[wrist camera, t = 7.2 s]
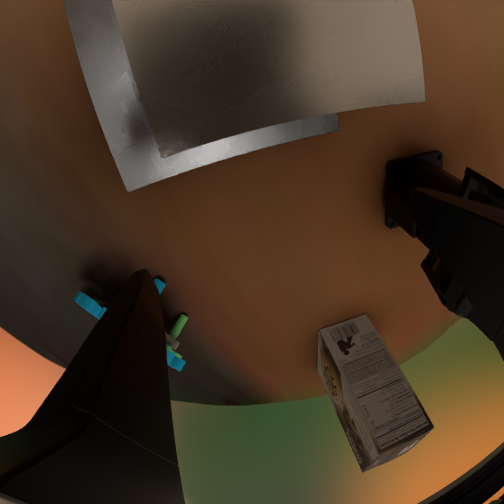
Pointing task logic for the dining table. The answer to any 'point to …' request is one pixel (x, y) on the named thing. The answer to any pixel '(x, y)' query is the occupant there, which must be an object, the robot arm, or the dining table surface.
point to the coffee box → (369, 393)
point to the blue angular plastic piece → (172, 357)
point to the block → (265, 62)
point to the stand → (132, 111)
